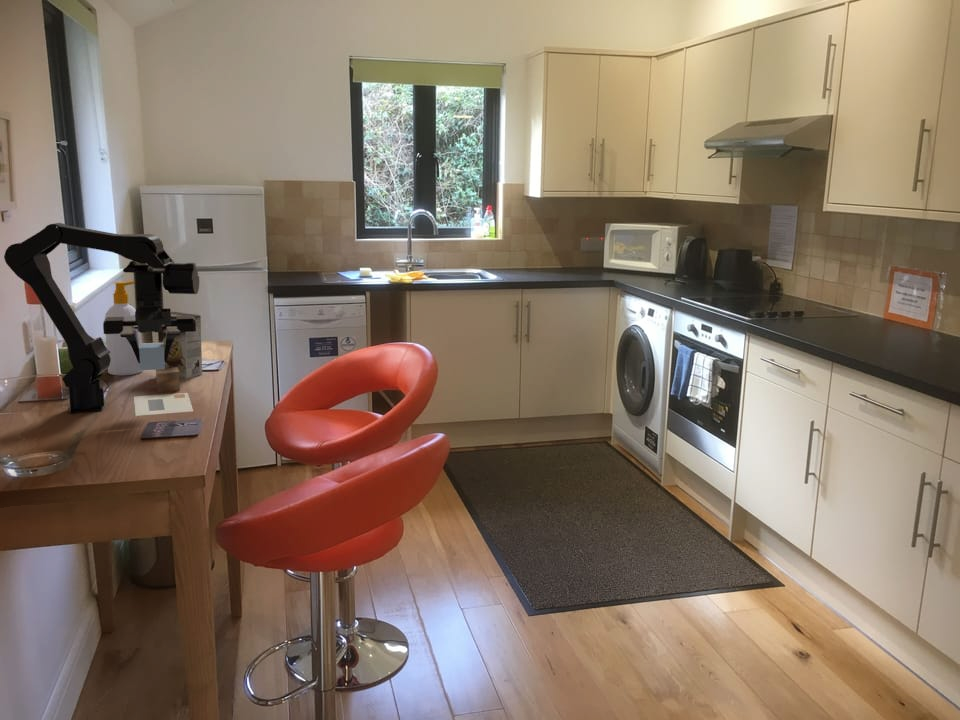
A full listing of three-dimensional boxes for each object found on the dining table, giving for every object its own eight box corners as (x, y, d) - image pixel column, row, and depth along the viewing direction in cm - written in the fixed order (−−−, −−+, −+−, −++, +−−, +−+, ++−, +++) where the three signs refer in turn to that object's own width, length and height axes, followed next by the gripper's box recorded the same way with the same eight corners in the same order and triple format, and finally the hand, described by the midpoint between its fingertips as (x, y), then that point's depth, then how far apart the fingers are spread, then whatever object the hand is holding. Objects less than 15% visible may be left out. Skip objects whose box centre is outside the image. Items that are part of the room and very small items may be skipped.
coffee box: (158, 375, 214) (155, 314, 210) (176, 370, 220) (173, 310, 216) (186, 379, 211) (183, 318, 207) (203, 374, 217) (201, 314, 213)
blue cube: (140, 370, 179) (139, 348, 178) (140, 365, 184) (139, 343, 183) (164, 369, 181) (163, 347, 180) (164, 364, 186) (163, 342, 185)
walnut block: (158, 393, 198) (156, 373, 197) (157, 388, 202) (155, 368, 201) (179, 391, 200) (178, 371, 199) (178, 386, 204) (177, 367, 203)
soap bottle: (149, 373, 216) (144, 283, 210) (111, 377, 210) (105, 285, 205) (142, 366, 222) (136, 279, 217) (104, 370, 217) (98, 280, 212)
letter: (135, 416, 179) (135, 415, 179) (133, 397, 194) (133, 396, 194) (193, 411, 184) (193, 411, 184) (187, 393, 198) (187, 392, 198)
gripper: (99, 299, 168) (104, 373, 172) (195, 298, 175) (198, 369, 178) (102, 291, 178) (107, 361, 182) (193, 290, 185) (196, 357, 188)
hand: (152, 362), depth 182 cm, fingers closed on blue cube, 5 cm apart
